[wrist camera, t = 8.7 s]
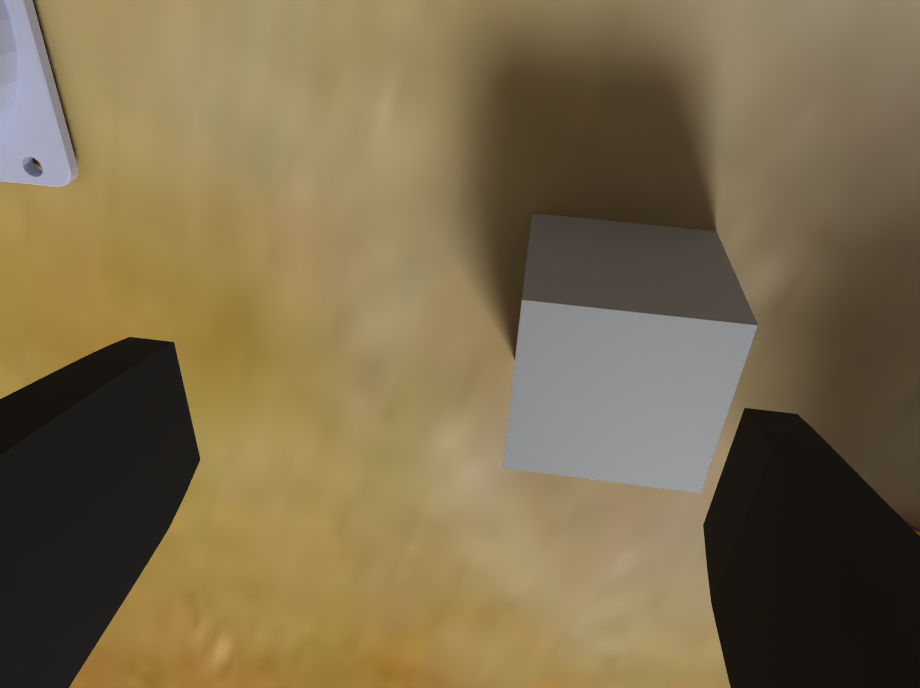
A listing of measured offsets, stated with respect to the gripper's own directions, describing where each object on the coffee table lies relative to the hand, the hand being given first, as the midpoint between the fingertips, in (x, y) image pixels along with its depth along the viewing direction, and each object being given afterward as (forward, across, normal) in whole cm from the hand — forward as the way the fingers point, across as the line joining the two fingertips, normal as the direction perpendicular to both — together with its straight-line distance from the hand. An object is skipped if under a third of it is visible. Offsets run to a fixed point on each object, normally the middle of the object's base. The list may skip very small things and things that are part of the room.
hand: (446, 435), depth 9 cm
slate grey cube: (+10, -3, +3) cm, 10 cm away
